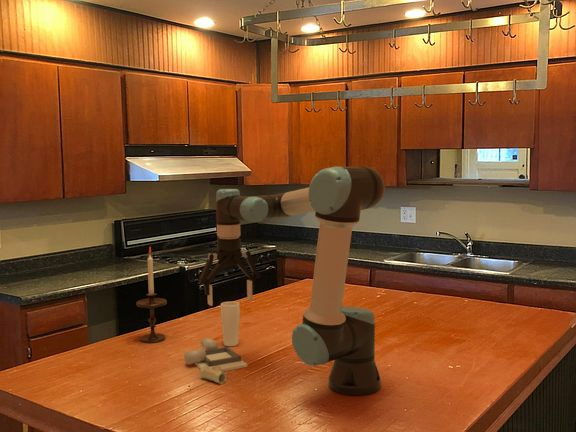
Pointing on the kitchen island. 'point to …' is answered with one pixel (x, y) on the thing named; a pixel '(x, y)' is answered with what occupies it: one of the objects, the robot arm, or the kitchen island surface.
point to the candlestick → (151, 306)
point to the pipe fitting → (213, 374)
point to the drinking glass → (230, 322)
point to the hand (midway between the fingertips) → (230, 302)
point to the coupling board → (214, 356)
